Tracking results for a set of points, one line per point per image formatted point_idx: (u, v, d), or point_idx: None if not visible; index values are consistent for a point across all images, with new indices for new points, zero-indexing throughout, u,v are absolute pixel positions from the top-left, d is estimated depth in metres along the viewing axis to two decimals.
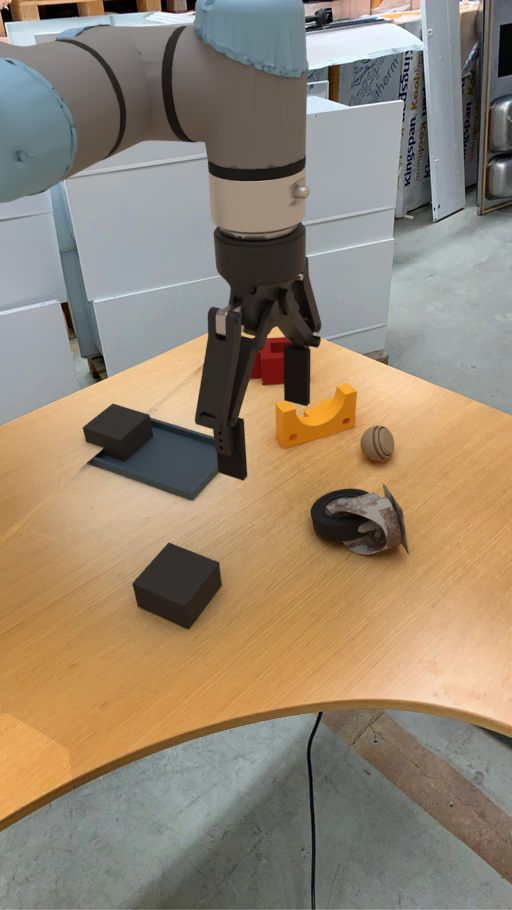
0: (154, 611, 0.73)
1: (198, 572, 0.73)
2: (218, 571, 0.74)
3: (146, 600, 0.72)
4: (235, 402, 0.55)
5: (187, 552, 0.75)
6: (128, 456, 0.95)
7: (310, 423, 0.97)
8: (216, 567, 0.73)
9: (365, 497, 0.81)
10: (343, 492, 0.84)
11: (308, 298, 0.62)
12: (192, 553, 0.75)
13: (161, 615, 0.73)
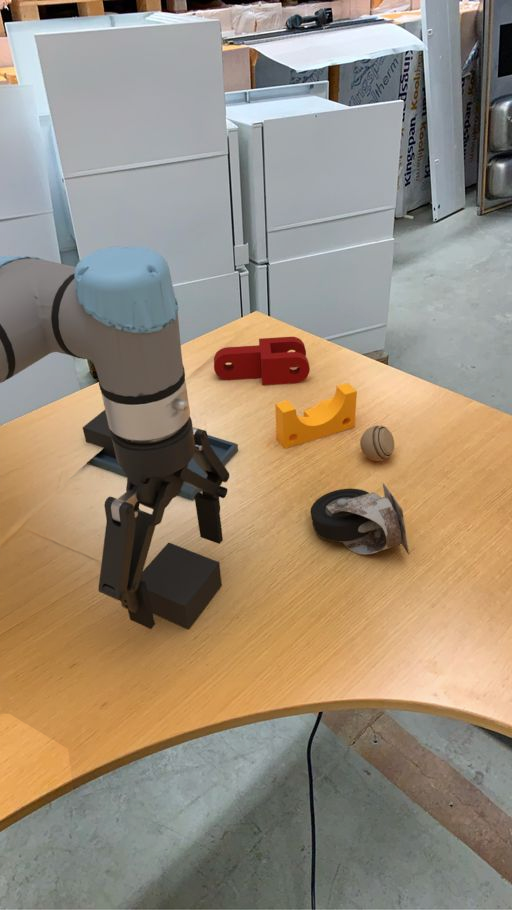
0: (154, 611, 0.73)
1: (198, 572, 0.73)
2: (218, 571, 0.74)
3: None
4: (135, 572, 0.62)
5: (187, 552, 0.75)
6: None
7: (310, 423, 0.97)
8: (216, 567, 0.73)
9: (365, 497, 0.81)
10: (343, 492, 0.84)
11: (210, 461, 0.70)
12: (192, 553, 0.75)
13: (161, 615, 0.73)
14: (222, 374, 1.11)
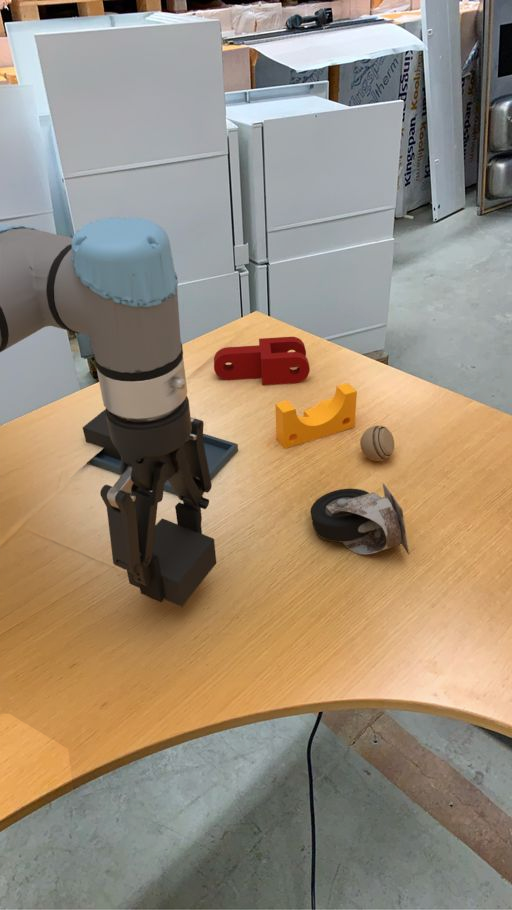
0: None
1: (192, 548, 0.71)
2: (213, 548, 0.72)
3: None
4: (145, 549, 0.64)
5: (181, 528, 0.73)
6: None
7: (310, 423, 0.97)
8: (211, 543, 0.71)
9: (365, 497, 0.81)
10: (343, 492, 0.84)
11: (199, 458, 0.68)
12: (186, 529, 0.73)
13: None
14: (222, 374, 1.11)
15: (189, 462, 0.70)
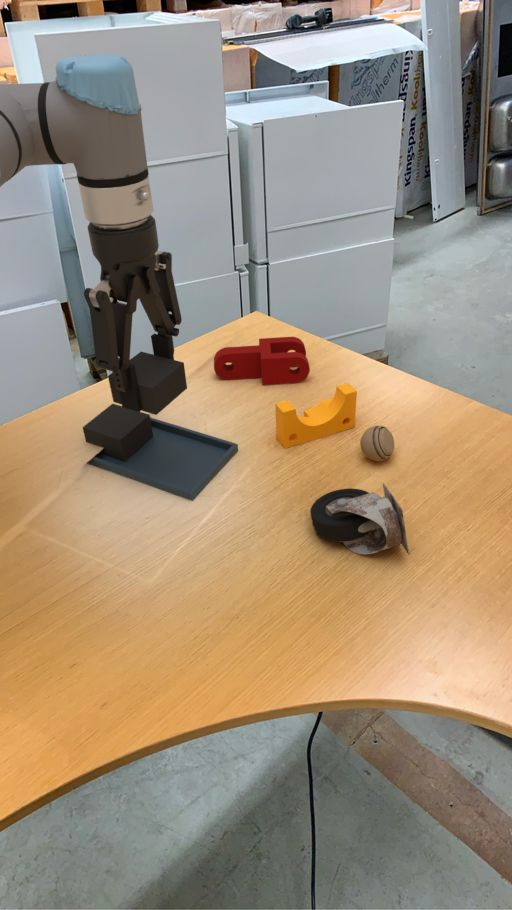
0: None
1: (165, 368, 0.84)
2: (183, 371, 0.86)
3: None
4: (123, 353, 0.77)
5: (156, 357, 0.87)
6: (128, 456, 0.95)
7: (310, 423, 0.97)
8: (181, 366, 0.85)
9: (365, 497, 0.81)
10: (343, 492, 0.84)
11: (169, 288, 0.82)
12: (161, 357, 0.86)
13: None
14: (222, 374, 1.11)
15: (161, 294, 0.83)
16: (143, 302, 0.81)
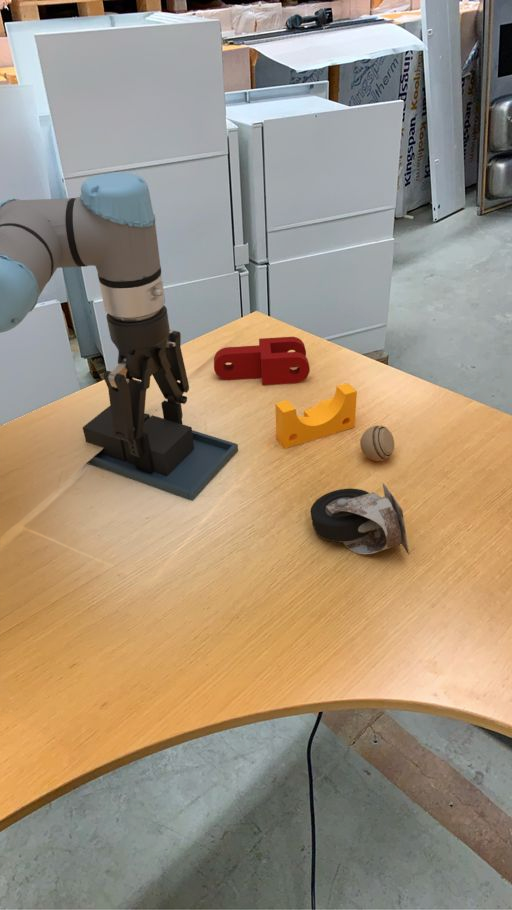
0: None
1: (175, 433, 0.93)
2: (191, 434, 0.94)
3: None
4: (137, 424, 0.86)
5: (166, 421, 0.95)
6: None
7: (310, 423, 0.97)
8: (189, 430, 0.93)
9: (365, 497, 0.81)
10: (343, 492, 0.84)
11: (178, 362, 0.90)
12: (170, 421, 0.95)
13: None
14: (222, 374, 1.11)
15: (171, 367, 0.92)
16: (155, 376, 0.90)
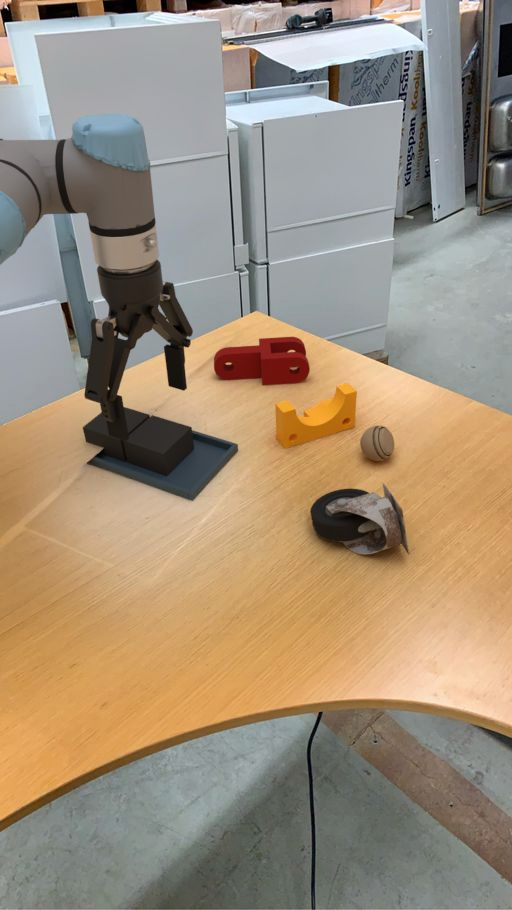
0: (140, 464, 0.93)
1: (175, 433, 0.93)
2: (191, 434, 0.94)
3: (134, 455, 0.92)
4: (113, 384, 0.80)
5: (166, 421, 0.95)
6: None
7: (310, 423, 0.97)
8: (189, 430, 0.93)
9: (365, 497, 0.81)
10: (343, 492, 0.84)
11: (176, 312, 0.87)
12: (170, 421, 0.95)
13: (146, 467, 0.93)
14: (222, 374, 1.11)
15: (170, 315, 0.89)
16: (153, 327, 0.87)
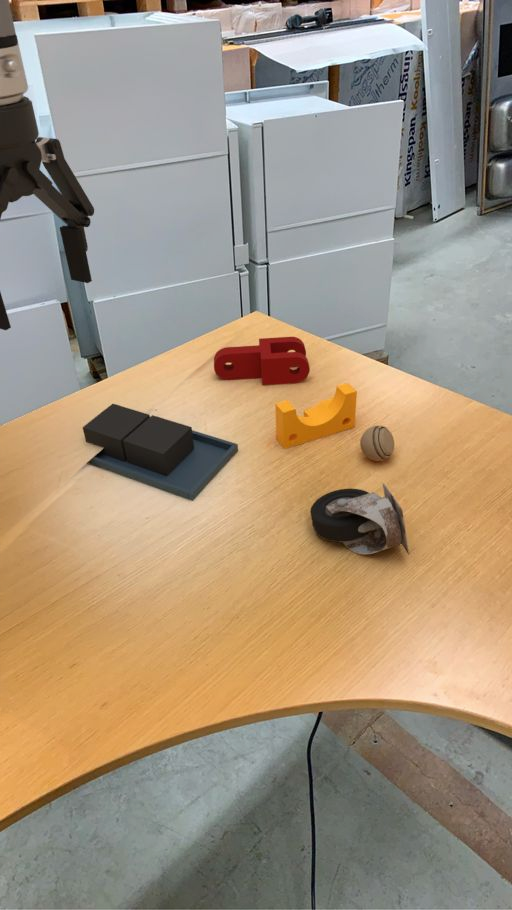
0: (140, 464, 0.93)
1: (175, 433, 0.93)
2: (191, 434, 0.94)
3: (134, 455, 0.92)
4: None
5: (166, 421, 0.95)
6: None
7: (310, 423, 0.97)
8: (189, 430, 0.93)
9: (365, 497, 0.81)
10: (343, 492, 0.84)
11: (67, 179, 0.73)
12: (170, 421, 0.95)
13: (146, 467, 0.93)
14: (222, 374, 1.11)
15: (62, 186, 0.75)
16: (40, 197, 0.73)
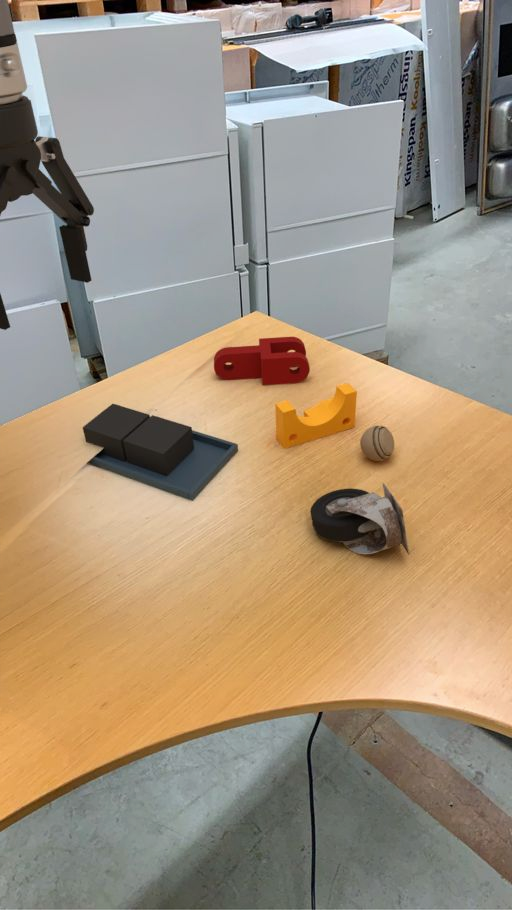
0: (140, 464, 0.93)
1: (175, 433, 0.93)
2: (191, 434, 0.94)
3: (134, 455, 0.92)
4: None
5: (166, 421, 0.95)
6: None
7: (310, 423, 0.97)
8: (189, 430, 0.93)
9: (365, 497, 0.81)
10: (343, 492, 0.84)
11: (67, 178, 0.73)
12: (170, 421, 0.95)
13: (146, 467, 0.93)
14: (222, 374, 1.11)
15: (62, 186, 0.75)
16: (39, 197, 0.73)
